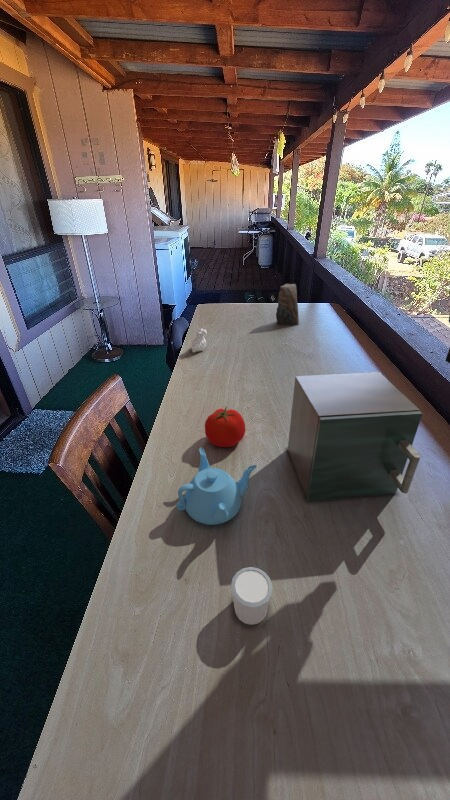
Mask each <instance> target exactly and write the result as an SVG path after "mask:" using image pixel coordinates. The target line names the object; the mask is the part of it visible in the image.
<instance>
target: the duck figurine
mask: <svg viewBox="0 0 450 800" xmlns="http://www.w3.org/2000/svg"><path fill="white" fill-rule="evenodd" d="M194 334H195V336H196V337H194V338H193V340H192V343H191V352H192V353H197V352H203V351H204V350H205V349H206V347H207V340H206V339H205V337H206V336H208V332H207V330H206V329H205V328H199V329H197V331H196V332H195V333H194Z"/></svg>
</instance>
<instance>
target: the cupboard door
mask: <svg viewBox="0 0 450 800" xmlns="http://www.w3.org/2000/svg"><path fill="white" fill-rule="evenodd" d="M422 417H423V412H421V410H420V411H413V412H397V413H382V414H366V415H351V416H335V417H320V418H319V423H318V429H317V436H316V442H315V449H314V455H313V461H312V468H311V474H310V481H309V487H308V493H307V497H306V500H307V502H317V501H325V500H326V501H327V500H339V499H350V498H351V499H352V498H361V497H373V496H386V495H388V496H389V495H396V494H397V491H398V490H399V491H400V492H401V493H403V494H408V493H409V491H410V487H411V485H412V483H413V482H412V481H413V480H414V476H415V473H416V471H417V469H418V465H419V463H420V460H421V454H420V453H419V452H418V451H417V449H415V448H414V446H413V444H414V442H415V441H414V440H415V438H416V435H417V433H418V429H419V426H420V423H421V419H422ZM407 461H409V462H408V464H407ZM406 466H407V467H406ZM405 467H406V470H405ZM404 471H405V472H404ZM403 473H404V476H403Z"/></svg>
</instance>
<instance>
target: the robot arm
mask: <svg viewBox="0 0 450 800" xmlns="http://www.w3.org/2000/svg"><path fill="white" fill-rule="evenodd" d="M448 323H449V324H450V314H449V316H448ZM446 354H447V355H446V357H445V362H447V363H448V364H450V347H449V349H448V351H447V353H446Z"/></svg>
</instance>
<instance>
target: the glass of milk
mask: <svg viewBox="0 0 450 800" xmlns="http://www.w3.org/2000/svg"><path fill="white" fill-rule="evenodd" d="M230 585H231V586H230V587H231V588H230V589H231V594H232V601H233V607H234V613H235V615H236V616H237V619H238V620H239V621H241V622H242V623H243V624H246V625H250V626H252V625H257V624H260V623H261V622H262V621H263V620H264V619H265V617H266V615H267V614H268V609H269V607H270V602H271V598H272V595H273V584H272V580H271V578H270V577H269V575H268V574H267V572H265V571H264V570H262V569H260V568H259V567H254V566H248V567H242V568H241V569H240V570H238V571H237V572H235V574H234V575H233V577H232V580H231V584H230Z"/></svg>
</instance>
